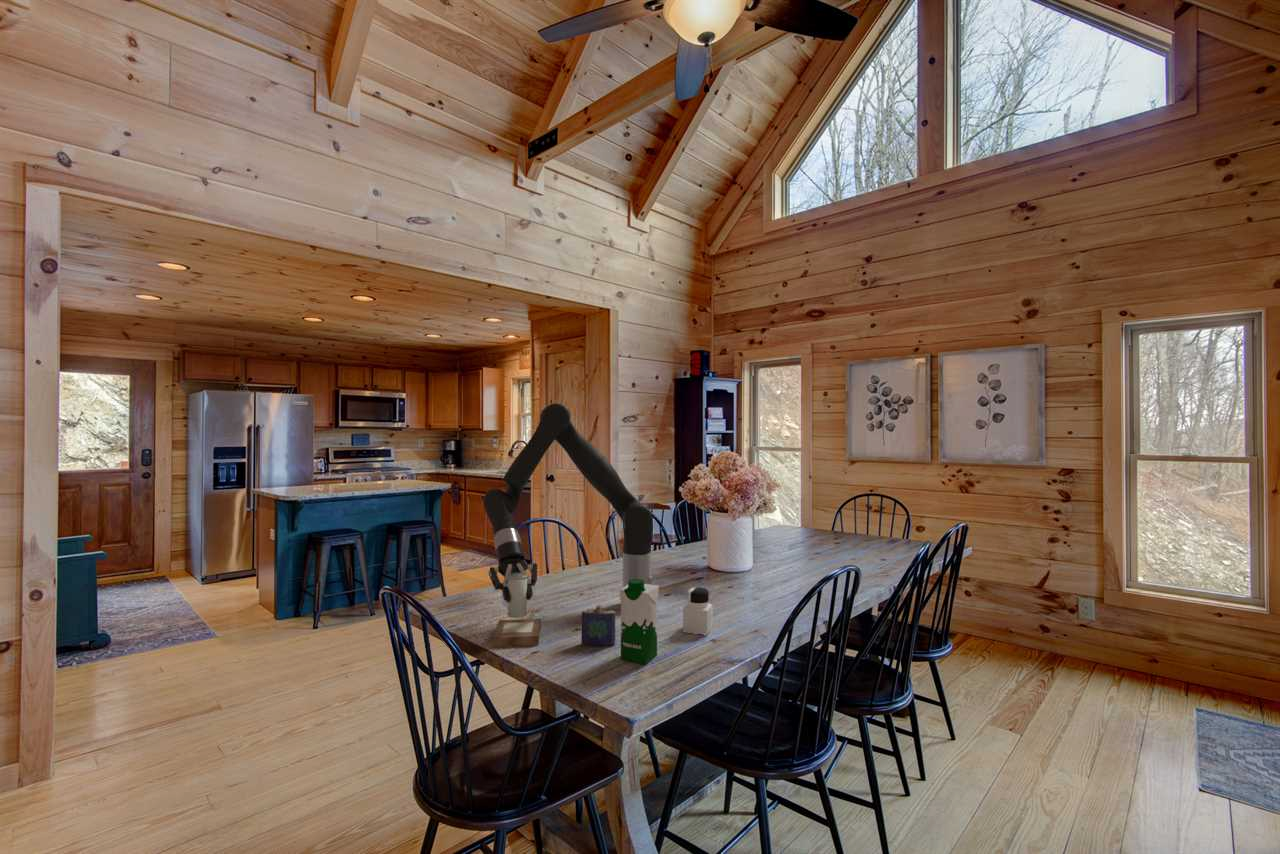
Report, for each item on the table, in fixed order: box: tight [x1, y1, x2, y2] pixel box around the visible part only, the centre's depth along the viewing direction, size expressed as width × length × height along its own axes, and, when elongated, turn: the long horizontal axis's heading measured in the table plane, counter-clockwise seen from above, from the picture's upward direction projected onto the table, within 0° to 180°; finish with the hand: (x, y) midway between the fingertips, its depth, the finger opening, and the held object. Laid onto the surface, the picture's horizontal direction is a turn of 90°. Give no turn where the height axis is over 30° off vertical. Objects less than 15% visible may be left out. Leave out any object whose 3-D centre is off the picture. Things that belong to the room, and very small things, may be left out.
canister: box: [507, 572, 529, 619], centre depth 164 cm, size 5×5×11 cm
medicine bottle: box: [682, 586, 714, 636], centre depth 170 cm, size 7×7×12 cm
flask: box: [580, 604, 617, 647], centre depth 159 cm, size 9×3×11 cm, turn 88°
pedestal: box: [492, 618, 542, 647], centre depth 165 cm, size 12×14×3 cm
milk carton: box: [619, 579, 660, 666], centre depth 150 cm, size 9×9×20 cm
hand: (519, 599), depth 162 cm, fingers closed on canister, 5 cm apart
